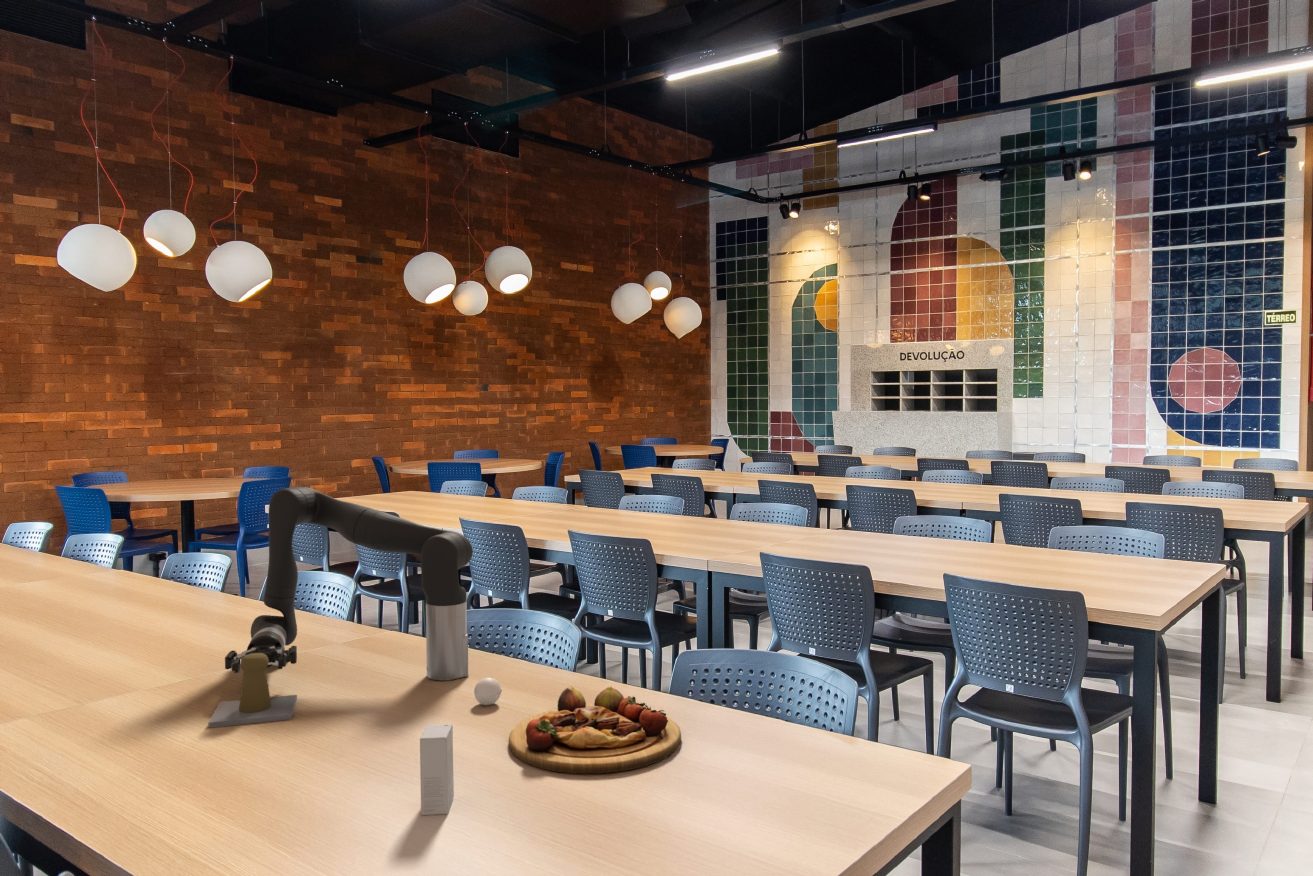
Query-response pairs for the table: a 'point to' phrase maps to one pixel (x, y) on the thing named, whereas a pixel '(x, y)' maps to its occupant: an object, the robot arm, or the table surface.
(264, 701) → the cork
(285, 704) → the slate tile
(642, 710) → the wooden plate with food
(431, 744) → the skincare box
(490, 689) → the white egg
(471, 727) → the table surface
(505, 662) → the table surface
